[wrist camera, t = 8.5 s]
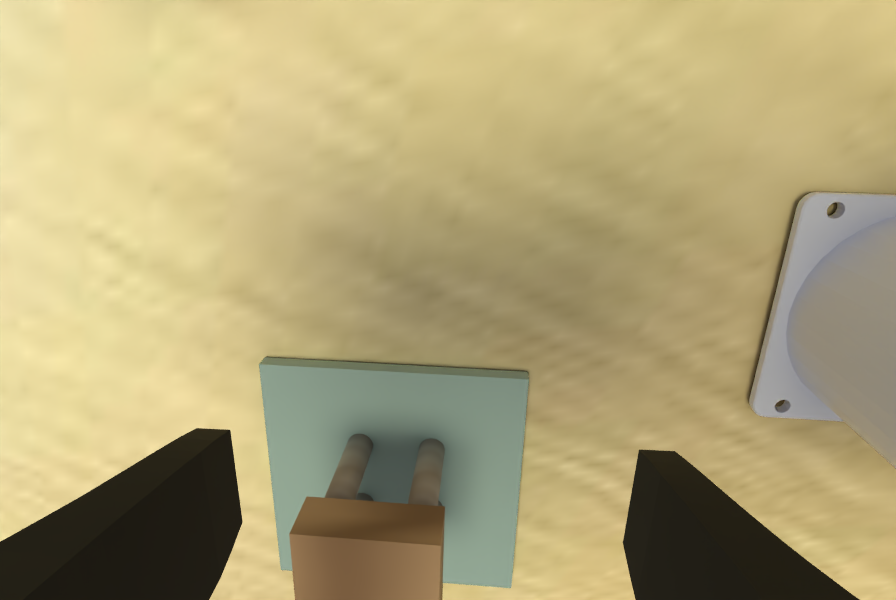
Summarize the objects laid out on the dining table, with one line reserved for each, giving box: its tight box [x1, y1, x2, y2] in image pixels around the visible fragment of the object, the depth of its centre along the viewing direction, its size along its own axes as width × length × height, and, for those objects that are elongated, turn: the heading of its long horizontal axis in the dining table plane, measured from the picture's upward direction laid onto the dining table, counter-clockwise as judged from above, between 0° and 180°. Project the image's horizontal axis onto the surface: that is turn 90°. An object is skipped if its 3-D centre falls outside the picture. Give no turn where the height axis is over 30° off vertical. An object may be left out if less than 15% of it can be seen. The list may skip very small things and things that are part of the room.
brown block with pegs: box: [289, 434, 445, 600], centre depth 19 cm, size 4×4×6 cm
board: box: [259, 357, 529, 588], centre depth 22 cm, size 10×10×1 cm
